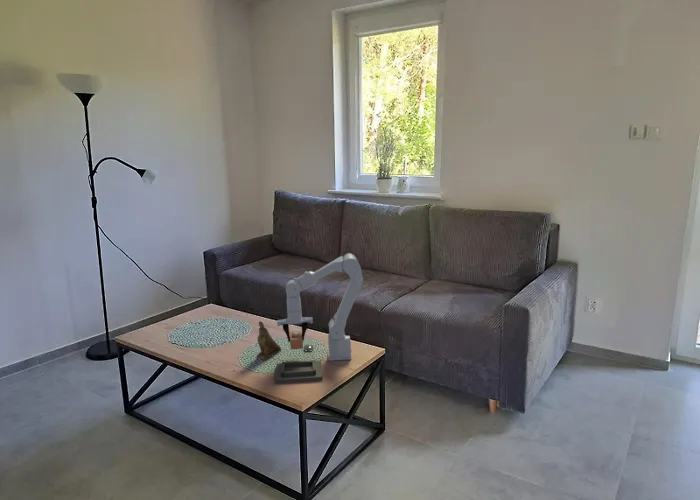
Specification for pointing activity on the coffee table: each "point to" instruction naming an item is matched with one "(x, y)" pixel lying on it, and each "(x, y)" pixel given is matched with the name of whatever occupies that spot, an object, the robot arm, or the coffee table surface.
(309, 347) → the domed chrome disc
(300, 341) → the orange knobbed block
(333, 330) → the robot arm
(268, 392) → the coffee table surface
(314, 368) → the stand
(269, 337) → the brown carved statuette
